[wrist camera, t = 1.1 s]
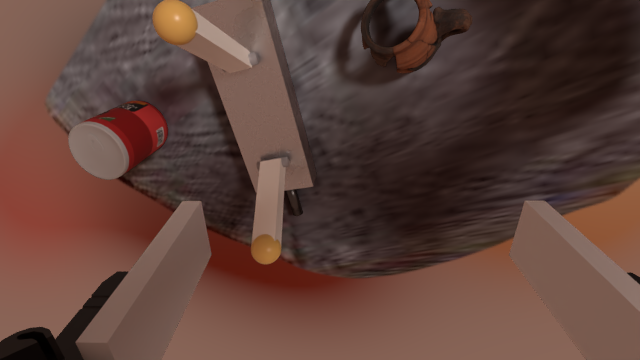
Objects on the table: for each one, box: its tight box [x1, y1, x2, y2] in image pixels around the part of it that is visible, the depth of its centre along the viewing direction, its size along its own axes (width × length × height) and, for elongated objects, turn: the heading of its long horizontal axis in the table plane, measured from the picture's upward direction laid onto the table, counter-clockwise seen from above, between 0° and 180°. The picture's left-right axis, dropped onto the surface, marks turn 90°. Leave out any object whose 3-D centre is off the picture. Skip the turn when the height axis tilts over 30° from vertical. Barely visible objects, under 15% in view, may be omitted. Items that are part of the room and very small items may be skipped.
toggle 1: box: [153, 0, 259, 73], centre depth 35 cm, size 4×4×15 cm
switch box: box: [191, 0, 317, 216], centre depth 48 cm, size 10×32×4 cm, turn 14°
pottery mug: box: [361, 0, 472, 73], centre depth 40 cm, size 12×10×8 cm
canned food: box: [68, 101, 168, 180], centre depth 48 cm, size 8×8×11 cm
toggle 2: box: [251, 157, 290, 264], centre depth 44 cm, size 4×4×15 cm
